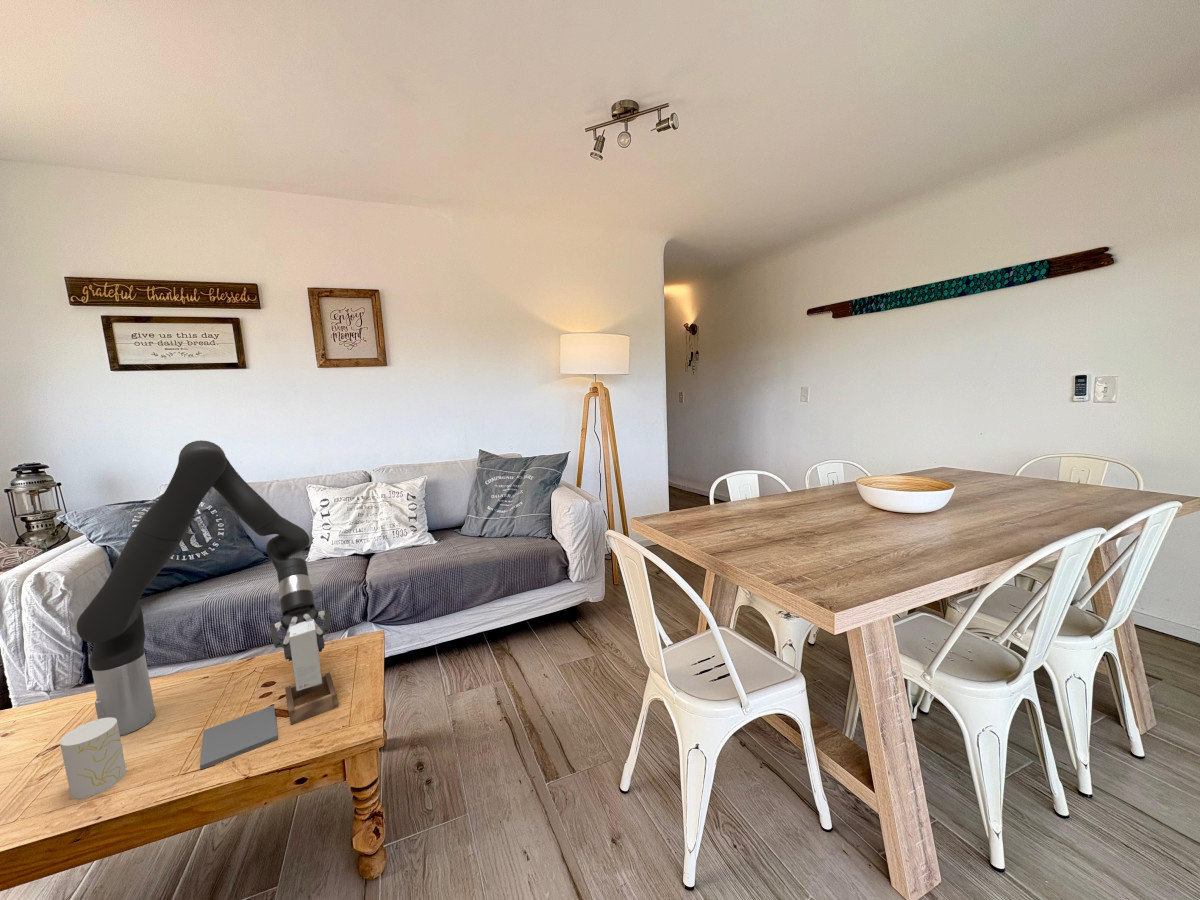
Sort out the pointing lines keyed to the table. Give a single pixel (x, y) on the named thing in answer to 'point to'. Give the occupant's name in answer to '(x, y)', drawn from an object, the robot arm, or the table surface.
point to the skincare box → (305, 655)
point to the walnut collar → (314, 705)
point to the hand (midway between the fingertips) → (305, 655)
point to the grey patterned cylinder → (93, 757)
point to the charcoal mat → (238, 736)
